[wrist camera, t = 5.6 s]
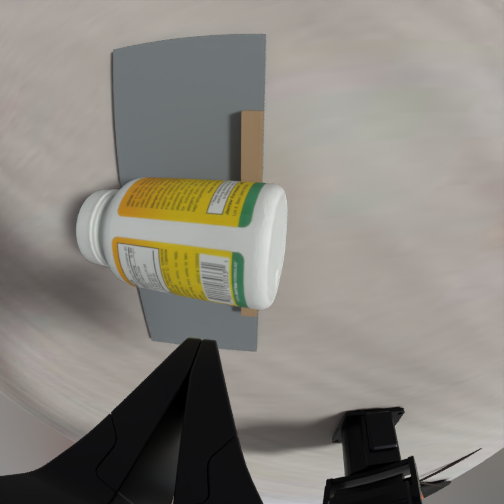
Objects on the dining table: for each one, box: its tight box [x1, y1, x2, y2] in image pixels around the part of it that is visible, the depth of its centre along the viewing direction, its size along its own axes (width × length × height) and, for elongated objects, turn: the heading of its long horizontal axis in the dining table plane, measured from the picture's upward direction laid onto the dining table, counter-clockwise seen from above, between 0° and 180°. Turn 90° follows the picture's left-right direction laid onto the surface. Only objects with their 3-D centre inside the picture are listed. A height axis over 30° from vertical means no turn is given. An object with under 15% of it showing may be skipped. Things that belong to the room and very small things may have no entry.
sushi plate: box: [419, 448, 482, 500], centre depth 40 cm, size 29×30×4 cm
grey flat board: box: [113, 34, 266, 351], centre depth 17 cm, size 20×8×1 cm, turn 179°
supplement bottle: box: [76, 177, 287, 310], centre depth 14 cm, size 5×5×10 cm
